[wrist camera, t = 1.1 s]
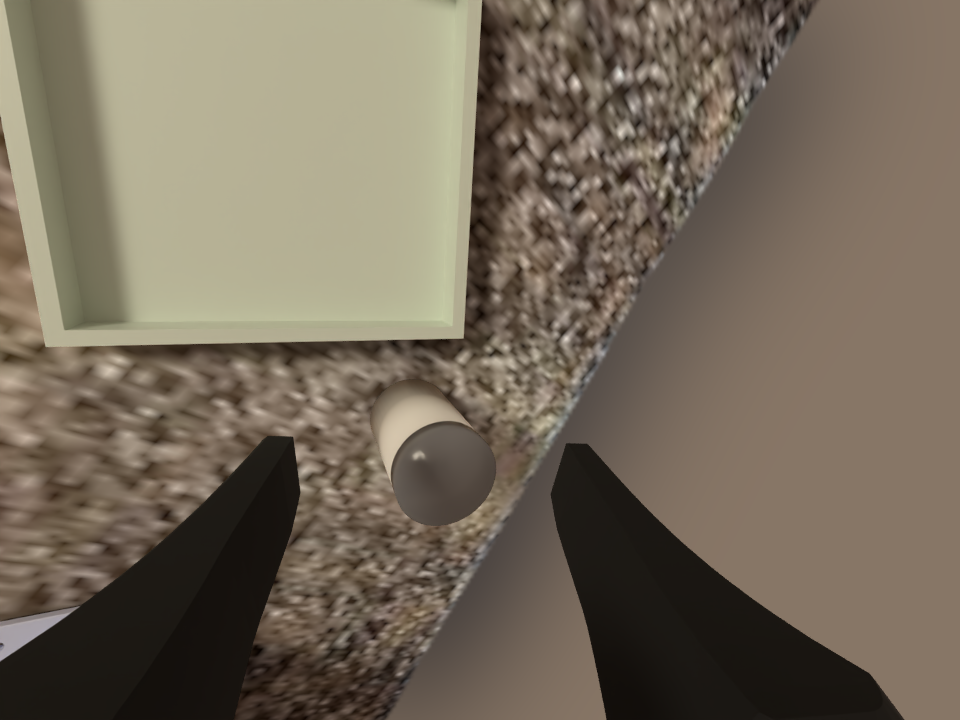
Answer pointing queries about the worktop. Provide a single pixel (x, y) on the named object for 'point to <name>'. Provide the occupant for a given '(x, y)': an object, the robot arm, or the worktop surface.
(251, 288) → the tray
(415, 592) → the worktop surface
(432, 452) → the cylinder
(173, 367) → the worktop surface
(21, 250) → the worktop surface
